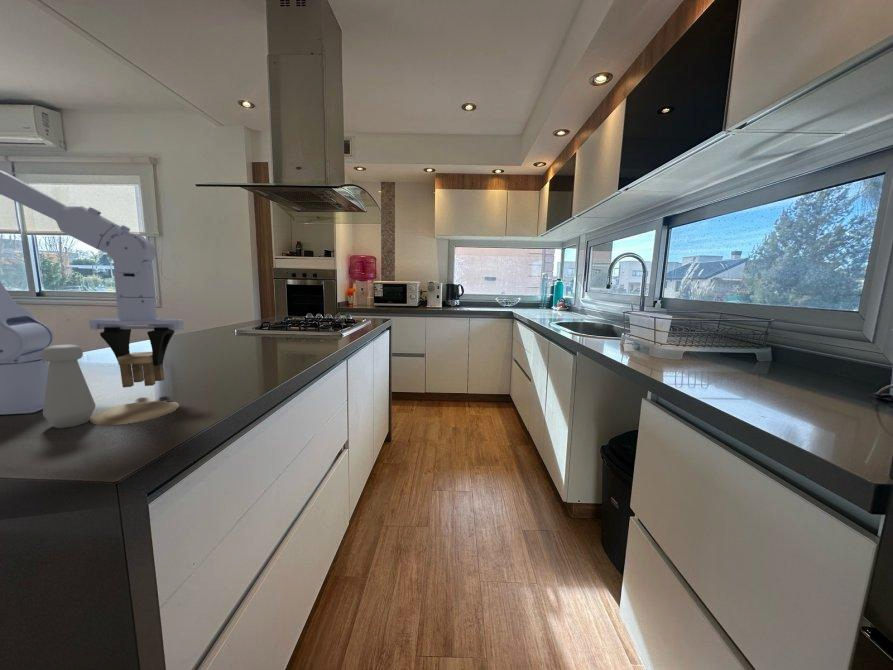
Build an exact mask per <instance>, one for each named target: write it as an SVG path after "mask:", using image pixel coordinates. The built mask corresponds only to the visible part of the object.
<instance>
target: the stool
mask: <svg viewBox="0 0 893 670" xmlns="http://www.w3.org/2000/svg"><path fill="white" fill-rule="evenodd" d="M117 363H118V365H119V364H120V366H119V369H120V378H121V384H122V388H131V387H133V386H134V385H135V383H142V382H144V387H151V386H154V385H156V382H162V381H165V373H164V366H163V365H164V363H163V364H161V365H159V366H154V364H153V355H152V351H136V352H130V354H127V355H124V356H120V357H118V361H117Z"/></svg>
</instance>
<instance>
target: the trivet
mask: <svg viewBox="0 0 893 670" xmlns="http://www.w3.org/2000/svg"><path fill="white" fill-rule="evenodd" d="M164 401H165V400H163V401H160V400H146V401H139V402H132V403H127V404H121V405H117V406H113V407H110V408H107V409H104V410H101V411H99V412H96V413H95V414H92V415H91V416H90V419H89V422H90V423H91V422H92V424H95V425H98V424H99V426H116V425H118V426H119V425H126V424H127V425H128V423H129V424H135V423H140V421H141V422H145V420H146V421H150V420H154V419H158V418H161V417H163V415H164V416H166V414H167V415H169V414H171V413H173V412H175V411H177V410H178V409H179V408H178V407H180V404H179V403H178V402H176V401H174V402H172V403H171V402H170V403H168V402H166V403H165V402H164ZM177 408H178V409H177ZM176 409H177V410H176ZM168 413H169V414H168ZM160 416H161V417H160ZM157 417H158V418H157ZM149 419H150V420H149ZM134 422H135V423H134Z"/></svg>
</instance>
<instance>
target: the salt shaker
mask: <svg viewBox="0 0 893 670" xmlns="http://www.w3.org/2000/svg"><path fill="white" fill-rule="evenodd" d="M42 356H43V359H44V361H47V362H49V368H48V376H47V384H46V392H45V399H44V407H43V409H42V415H43V417H44V419H45V420H46V422H48V423H49V424H50V426H51V427H53V428H56V429H64V428H65V429H66V428H72V427H78V426H81V425H83V424H86V423H89V422H90V418H91V417H92V416H93V413H94V411H95V409H96V403H95V400H94V397H93V396H92V393H91V391H90V388H89V386H88V382H86V379H85V376H84V374H83V372H82V371H83V370H81V367H80V363H79V361H78V360H80V359H82V358H83V356H84V352H83V348H82V347H81V346H79V345H77V344H70V343H69V344H68V343H67V344H56V345H51V346H50V347H47V348H45V349H44V350H43V352H42Z"/></svg>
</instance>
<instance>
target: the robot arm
mask: <svg viewBox="0 0 893 670" xmlns="http://www.w3.org/2000/svg"><path fill="white" fill-rule="evenodd" d="M0 195H1V196H4V197H5V198H8V199H9V200H12V201H15V202H16V203H18V204H20V205H23V206H25V207H27V208H28V209H31V210H33V211H35V212H37V213H40V214H42V215H44V216H45V217H48V218H50V219H52V220H54V221H55V222H56V224H57V226H58V229H59V230H60V231H61V233H64V234H66V235H68V236H70V237H71V238H73V239H76V240H78V241H80V242H82V243H84V244H86V245H88V246H90V247H93V248H94V249H96V250H98V251H100V252H102V253H106V254H107V256H109V258H110V259H111V260H113V268H114V269H113V271H114V272H113V277H114V287H115V298H116V309H117V310H116V312H117V318H91V319H89V320H88V322H89V330H93V331H94V330H96V331H97V330H103V331H102V332H99V335H100V337H101V338H102V339H103V340H104V341H105V343H107V345H108V346H109V348H110V350H111V351H112V352H113V354H114V355H115V358H116V361H117V362H118V357H120V356H124V355H127V354H130V353H131V352H130V341H131V340H130V339H131V334H132V333H131V332H132V330H150V331H147V332H146V333H147V334H146V335H148V339H149V343H150V345H151V346H150V347H151V352H152V355H153V364H154V366H159V365H161V364H163V365H164V359H165V355H166V350H167V348H168V346H169V343H170V341H171V340H172V337H173V335H174V334H175V331H177V330H179V331H180V330H182V329H184V328H185V326H184V319H181V318H179V319H177V318H158V316H157V314H158V313H157V303H156V290H155V276H154V273H153V272H154V270H153V262H152V261H154V259H155V257H156V248H155V246H154V244H153V243H152V242H151V241H150V240H148V239H146V237H145V236H142V235H139V234H134V233H130V231H131V228H129V227H128V226H126V225H124V224H123V225H119V224H117V223H115V222H113V221H111V220H109V219H108V218H106V217H104V216H102V215H101V214H102V212H101V211H99V210H97V209H96V208H94V207H92V206H90V207H88V208H87V207H85V206H83V205H73V206H72V205H70V206H67V205H66V204H64V203H62V202H61V201H59V200H57V199H55V198H53V197H52V196H49V195H48V194H46V193H44V192H42V191H40V190H39V189H37V188H35V187H33V186H32V185H29V184H28V183H26V182H25V181H23V180H21V179H19V178H17V177H15V176H13V175H12V174H9V173H8V172H5V171H4V170H0ZM54 338H55V337H54V333H53V331H52V329H51V328H50V327H49V325H47V324H45V323H43V322H42V321H40V320H38V319H37V317H36V316H34V314H33V312H31V311H30V310H29V309H27V308H25V307H23V306H22V305H20V304H18V303H16V301H14V299H13V297H12V296H11V294H10V293H9V291H8V290H7V289H6V288H5V286H4V284H3V283H2V282H1V281H0V415H17V414H18V415H19V414H20V415H21V414H32V413H36V412H40V411H43V407H44V399H45V392H46V384H47V376H48V368H49V362H47V361H44V359H43V356H42V352H43V350H44V349H45V348H47V347H50V346H52V344H53V342H54V340H55V339H54ZM118 366H119V367H120V364H118Z"/></svg>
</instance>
